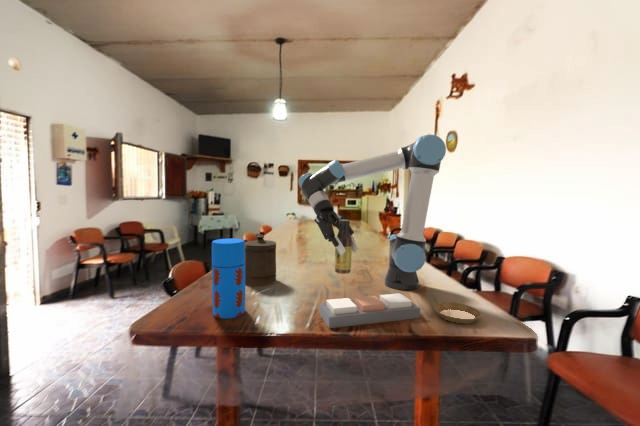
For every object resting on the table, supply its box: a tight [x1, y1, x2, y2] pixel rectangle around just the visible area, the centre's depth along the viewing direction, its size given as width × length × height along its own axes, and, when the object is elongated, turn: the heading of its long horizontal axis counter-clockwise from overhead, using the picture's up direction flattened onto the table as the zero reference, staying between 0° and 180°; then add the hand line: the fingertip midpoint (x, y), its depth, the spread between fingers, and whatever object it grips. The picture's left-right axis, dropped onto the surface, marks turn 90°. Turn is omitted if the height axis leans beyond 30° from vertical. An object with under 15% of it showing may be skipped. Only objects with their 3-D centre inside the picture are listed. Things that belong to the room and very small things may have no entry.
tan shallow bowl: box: [433, 302, 482, 324], centre depth 104 cm, size 15×15×3 cm
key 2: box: [379, 293, 413, 309], centre depth 107 cm, size 8×8×2 cm
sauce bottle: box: [334, 218, 353, 275], centre depth 114 cm, size 7×6×20 cm
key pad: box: [318, 297, 421, 329], centre depth 104 cm, size 32×12×4 cm, turn 105°
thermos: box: [211, 237, 246, 320], centre depth 105 cm, size 11×11×25 cm
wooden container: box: [245, 233, 277, 287], centre depth 141 cm, size 15×15×22 cm
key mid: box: [353, 295, 385, 312], centre depth 104 cm, size 8×8×2 cm
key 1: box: [325, 297, 357, 315], centre depth 101 cm, size 8×8×2 cm
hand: (350, 251), depth 111 cm, fingers closed on sauce bottle, 6 cm apart
